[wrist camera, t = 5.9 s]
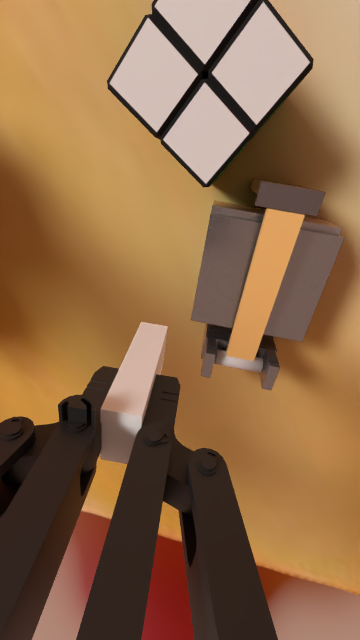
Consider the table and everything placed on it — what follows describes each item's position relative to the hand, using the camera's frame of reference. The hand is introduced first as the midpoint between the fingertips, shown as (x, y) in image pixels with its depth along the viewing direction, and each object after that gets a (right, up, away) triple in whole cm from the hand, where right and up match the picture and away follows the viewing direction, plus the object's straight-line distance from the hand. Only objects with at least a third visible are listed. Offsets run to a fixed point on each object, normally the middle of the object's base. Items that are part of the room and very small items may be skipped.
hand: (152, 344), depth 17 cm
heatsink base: (+10, +7, +18) cm, 22 cm away
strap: (+9, +4, +12) cm, 16 cm away
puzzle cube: (+5, +22, +12) cm, 26 cm away
